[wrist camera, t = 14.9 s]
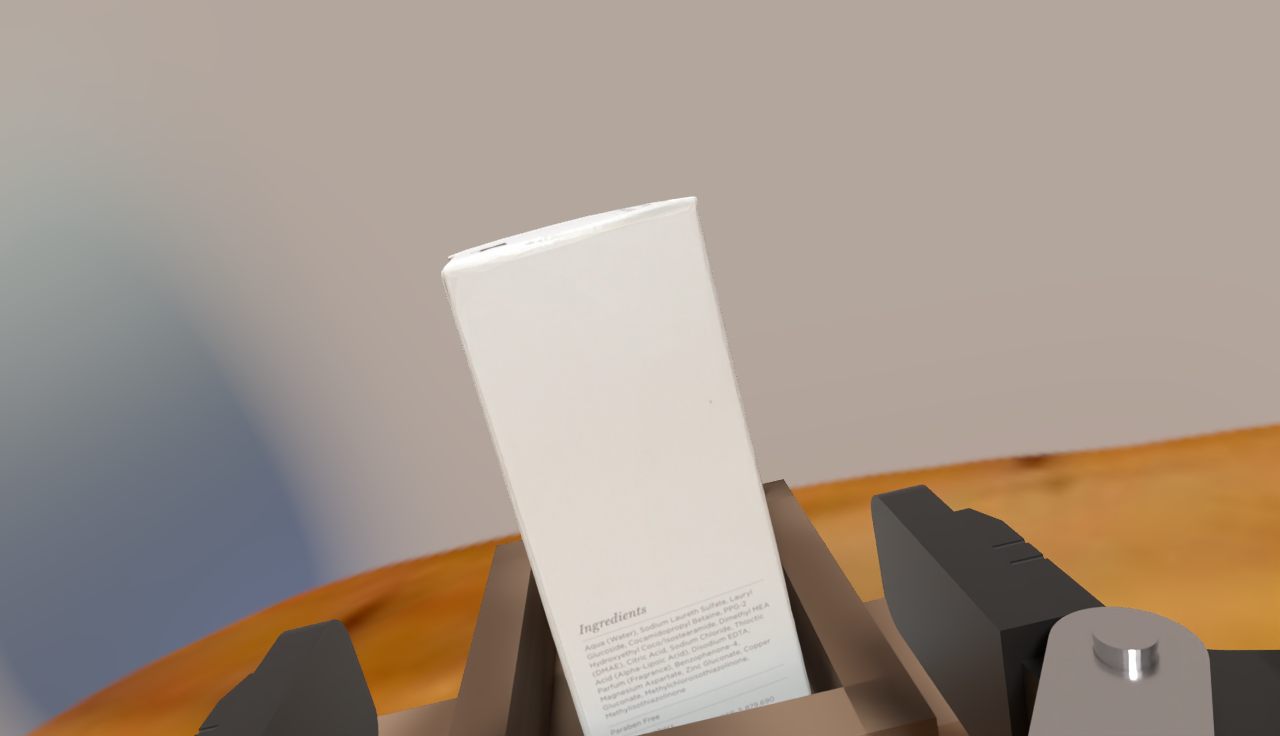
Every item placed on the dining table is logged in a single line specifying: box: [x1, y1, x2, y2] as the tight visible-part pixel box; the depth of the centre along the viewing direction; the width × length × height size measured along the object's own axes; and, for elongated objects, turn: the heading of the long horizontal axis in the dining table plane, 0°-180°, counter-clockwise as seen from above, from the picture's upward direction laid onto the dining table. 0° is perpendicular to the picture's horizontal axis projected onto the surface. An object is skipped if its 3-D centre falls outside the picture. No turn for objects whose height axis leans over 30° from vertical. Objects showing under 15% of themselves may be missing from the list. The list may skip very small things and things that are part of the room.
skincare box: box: [441, 197, 812, 736], centre depth 21 cm, size 8×6×15 cm
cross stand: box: [377, 479, 969, 736], centre depth 23 cm, size 26×24×5 cm
